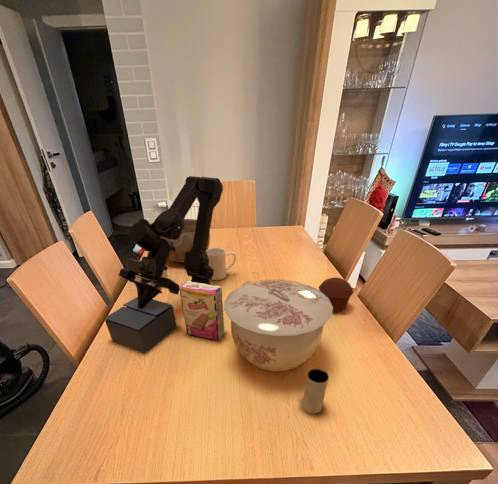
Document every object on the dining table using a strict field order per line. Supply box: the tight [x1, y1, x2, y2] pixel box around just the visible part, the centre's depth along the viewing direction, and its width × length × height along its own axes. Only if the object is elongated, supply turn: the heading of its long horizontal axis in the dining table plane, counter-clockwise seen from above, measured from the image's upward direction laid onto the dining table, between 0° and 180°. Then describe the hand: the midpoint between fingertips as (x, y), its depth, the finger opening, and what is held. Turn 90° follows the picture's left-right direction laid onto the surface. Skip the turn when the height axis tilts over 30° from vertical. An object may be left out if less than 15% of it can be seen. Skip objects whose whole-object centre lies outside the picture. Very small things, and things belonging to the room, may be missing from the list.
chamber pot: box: [223, 279, 333, 372], centre depth 80 cm, size 28×28×21 cm
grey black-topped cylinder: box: [301, 368, 330, 415], centre depth 68 cm, size 4×4×10 cm
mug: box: [206, 247, 237, 281], centre depth 123 cm, size 12×8×10 cm, turn 98°
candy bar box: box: [179, 280, 225, 342], centre depth 89 cm, size 11×5×16 cm, turn 71°
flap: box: [122, 296, 173, 316], centre depth 91 cm, size 7×13×1 cm, turn 63°
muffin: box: [318, 277, 354, 314], centre depth 103 cm, size 12×11×10 cm
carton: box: [103, 306, 178, 354], centre depth 92 cm, size 15×13×8 cm
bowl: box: [160, 218, 211, 263], centre depth 135 cm, size 24×24×15 cm
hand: (140, 308), depth 89 cm, fingers closed, pressing on flap
